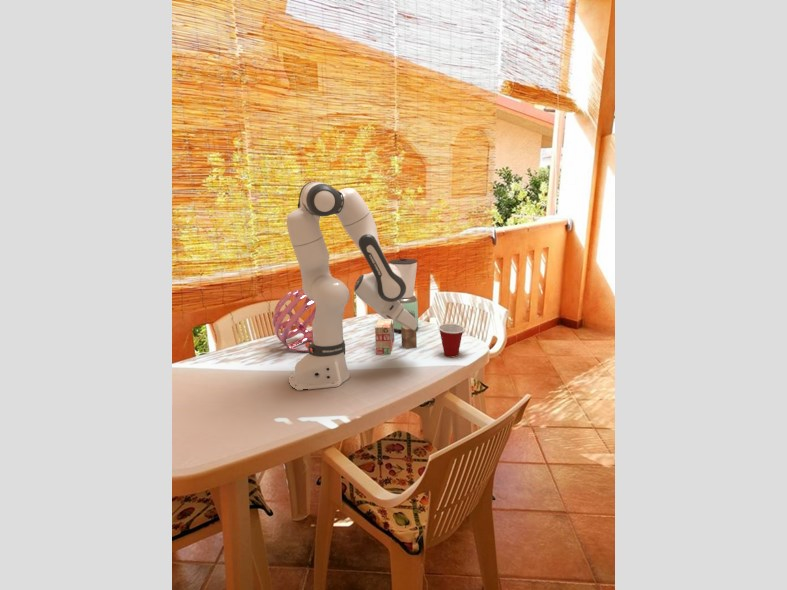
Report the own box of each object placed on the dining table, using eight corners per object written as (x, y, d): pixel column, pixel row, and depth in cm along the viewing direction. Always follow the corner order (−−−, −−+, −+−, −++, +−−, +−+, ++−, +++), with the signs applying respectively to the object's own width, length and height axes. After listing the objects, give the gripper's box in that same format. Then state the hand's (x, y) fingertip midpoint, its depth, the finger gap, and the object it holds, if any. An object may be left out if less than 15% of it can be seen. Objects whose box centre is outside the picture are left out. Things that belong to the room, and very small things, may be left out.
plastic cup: (452, 361, 196) (452, 332, 193) (433, 354, 204) (432, 327, 201) (470, 354, 203) (470, 326, 200) (450, 348, 211) (450, 321, 208)
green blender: (424, 332, 233) (423, 260, 225) (398, 336, 229) (395, 262, 221) (409, 322, 251) (408, 254, 243) (385, 325, 247) (382, 257, 238)
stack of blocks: (381, 338, 227) (380, 313, 225) (394, 338, 227) (393, 313, 224) (376, 354, 207) (374, 326, 204) (390, 354, 206) (389, 326, 203)
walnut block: (406, 349, 212) (405, 329, 210) (401, 345, 216) (401, 326, 214) (416, 347, 213) (416, 327, 211) (412, 344, 218) (411, 324, 216)
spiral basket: (356, 304, 211) (312, 266, 219) (309, 336, 192) (263, 293, 200) (342, 343, 230) (302, 307, 238) (298, 375, 212) (256, 334, 219)
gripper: (375, 310, 197) (400, 329, 202) (392, 318, 178) (419, 339, 183) (384, 297, 198) (409, 317, 203) (402, 304, 179) (429, 326, 183)
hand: (414, 328), depth 192 cm, fingers closed
